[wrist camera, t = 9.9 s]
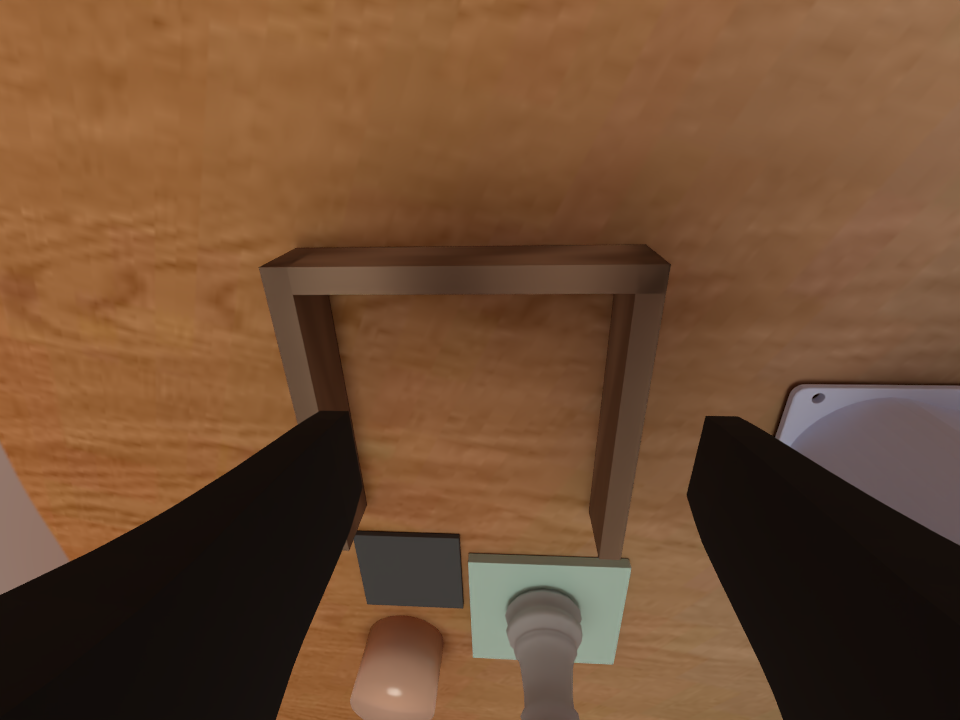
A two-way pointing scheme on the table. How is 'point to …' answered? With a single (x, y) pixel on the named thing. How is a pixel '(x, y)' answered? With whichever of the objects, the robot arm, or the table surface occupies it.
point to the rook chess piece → (545, 651)
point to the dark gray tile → (410, 568)
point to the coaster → (579, 578)
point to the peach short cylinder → (399, 671)
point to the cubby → (484, 270)
